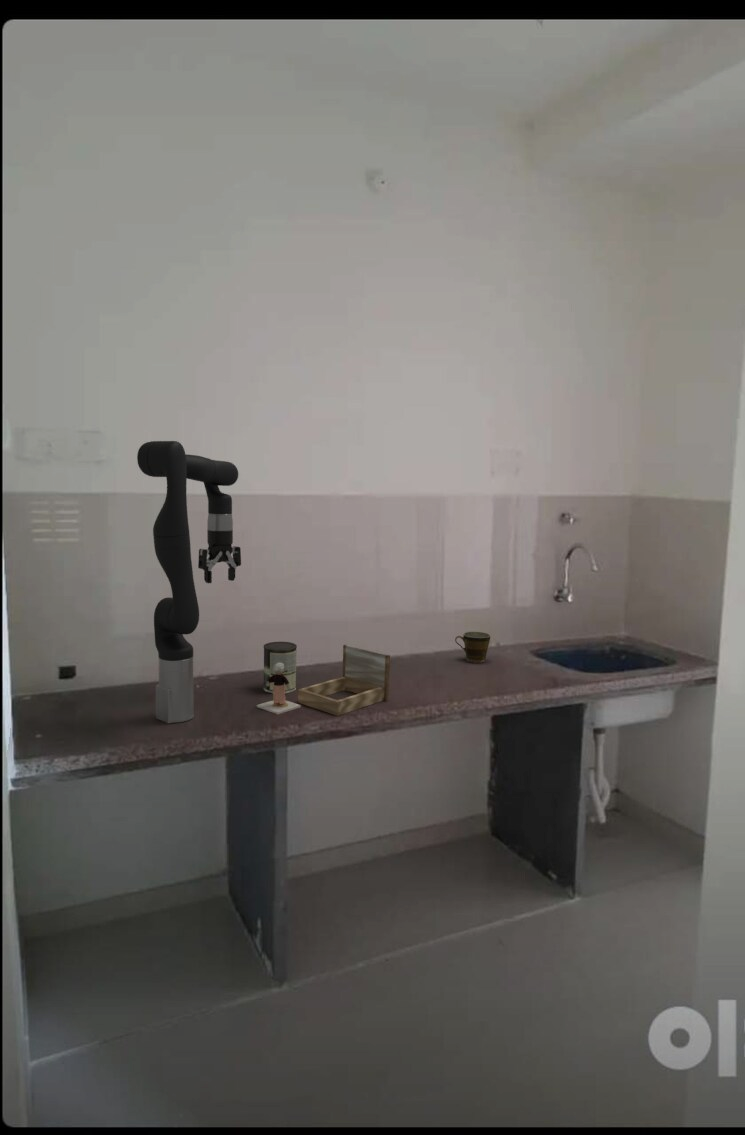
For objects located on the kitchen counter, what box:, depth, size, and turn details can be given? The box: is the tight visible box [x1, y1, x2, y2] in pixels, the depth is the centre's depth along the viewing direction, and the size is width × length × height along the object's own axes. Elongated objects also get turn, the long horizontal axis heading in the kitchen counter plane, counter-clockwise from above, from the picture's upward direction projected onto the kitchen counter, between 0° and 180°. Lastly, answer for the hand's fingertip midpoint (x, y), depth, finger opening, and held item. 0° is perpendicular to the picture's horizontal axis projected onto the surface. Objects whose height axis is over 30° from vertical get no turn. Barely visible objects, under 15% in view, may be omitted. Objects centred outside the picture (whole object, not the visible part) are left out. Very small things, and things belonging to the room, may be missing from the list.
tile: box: [256, 700, 302, 715], centre depth 214 cm, size 9×9×1 cm
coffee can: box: [262, 641, 298, 694], centre depth 231 cm, size 10×10×14 cm
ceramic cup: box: [454, 631, 491, 664], centre depth 272 cm, size 13×10×10 cm
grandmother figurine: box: [266, 663, 291, 707], centre depth 213 cm, size 8×4×13 cm, turn 82°
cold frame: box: [297, 643, 391, 717], centre depth 221 cm, size 21×18×14 cm
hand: (220, 581), depth 224 cm, fingers open, 8 cm apart
